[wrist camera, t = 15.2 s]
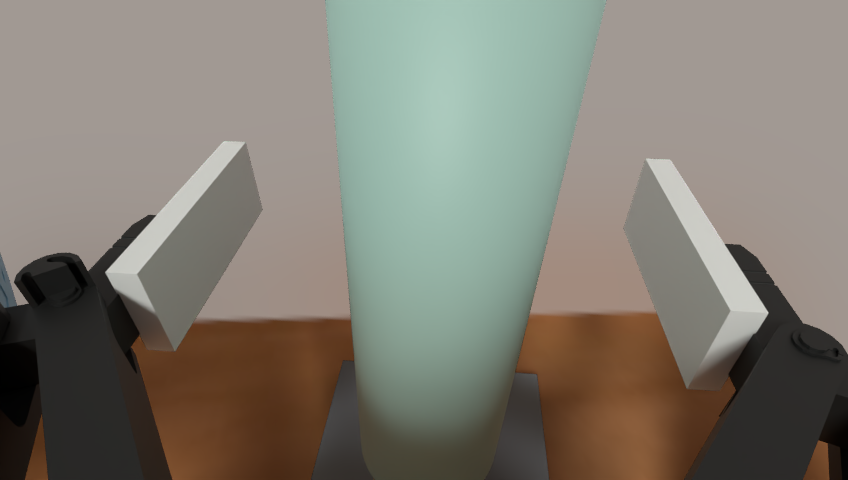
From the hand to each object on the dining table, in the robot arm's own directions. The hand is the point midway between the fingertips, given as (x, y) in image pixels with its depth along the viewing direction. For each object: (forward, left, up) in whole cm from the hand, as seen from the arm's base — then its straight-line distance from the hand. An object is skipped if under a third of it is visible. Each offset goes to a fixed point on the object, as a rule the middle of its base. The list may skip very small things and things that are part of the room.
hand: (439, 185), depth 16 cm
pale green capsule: (+1, -3, -10) cm, 10 cm away
